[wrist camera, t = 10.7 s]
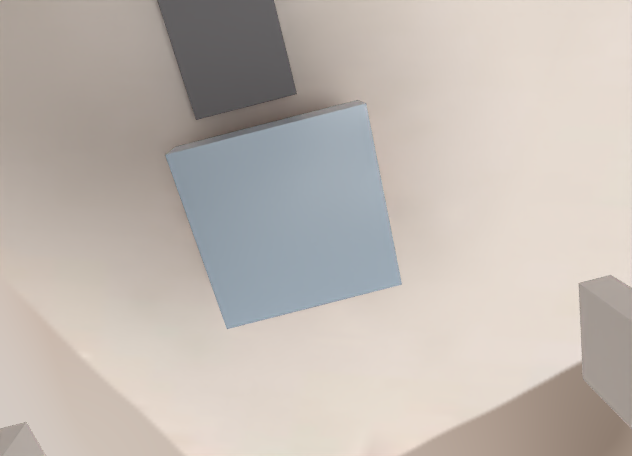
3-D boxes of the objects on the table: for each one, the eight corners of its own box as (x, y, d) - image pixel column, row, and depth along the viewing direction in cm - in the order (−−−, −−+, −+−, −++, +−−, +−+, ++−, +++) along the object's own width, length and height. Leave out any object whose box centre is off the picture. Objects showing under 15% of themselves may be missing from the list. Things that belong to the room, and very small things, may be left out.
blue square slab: (175, 146, 25) (165, 154, 22) (357, 99, 25) (366, 103, 22) (231, 307, 28) (227, 329, 26) (391, 266, 28) (401, 284, 26)
